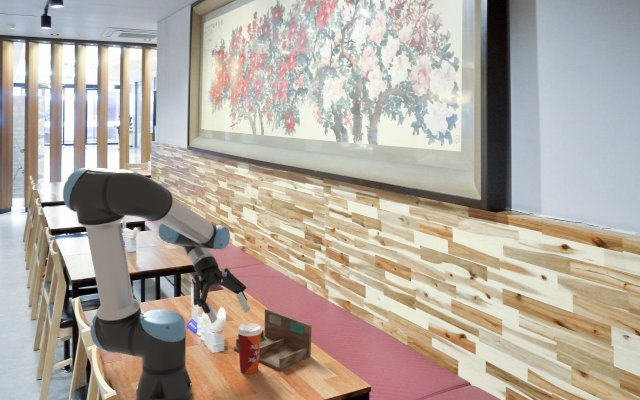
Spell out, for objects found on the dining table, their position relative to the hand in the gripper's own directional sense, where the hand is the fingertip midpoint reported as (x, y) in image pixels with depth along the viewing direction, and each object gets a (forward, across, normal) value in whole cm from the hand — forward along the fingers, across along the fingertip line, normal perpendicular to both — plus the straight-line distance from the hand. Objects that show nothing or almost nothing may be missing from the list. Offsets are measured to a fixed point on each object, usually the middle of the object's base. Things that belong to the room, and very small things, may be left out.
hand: (231, 315), depth 171 cm
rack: (+15, -13, -6) cm, 20 cm away
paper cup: (+18, +1, -4) cm, 18 cm away
